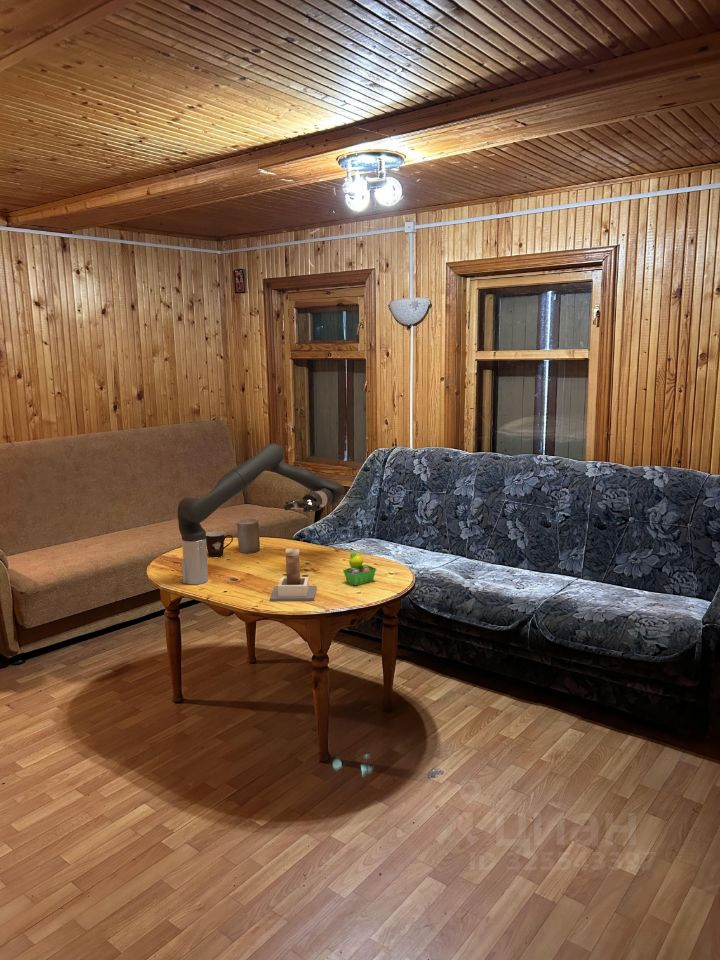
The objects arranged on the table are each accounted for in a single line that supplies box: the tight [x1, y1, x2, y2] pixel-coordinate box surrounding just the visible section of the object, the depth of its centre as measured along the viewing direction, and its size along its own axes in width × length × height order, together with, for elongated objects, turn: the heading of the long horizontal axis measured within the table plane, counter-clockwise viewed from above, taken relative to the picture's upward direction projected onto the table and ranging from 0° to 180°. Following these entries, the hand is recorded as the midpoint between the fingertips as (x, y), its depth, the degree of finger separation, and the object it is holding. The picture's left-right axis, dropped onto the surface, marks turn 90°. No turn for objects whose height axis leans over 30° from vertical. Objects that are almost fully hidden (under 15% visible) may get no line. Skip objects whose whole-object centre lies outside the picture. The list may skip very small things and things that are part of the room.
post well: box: [269, 576, 318, 602], centre depth 270 cm, size 16×14×5 cm
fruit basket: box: [342, 551, 377, 586], centre depth 284 cm, size 11×9×11 cm
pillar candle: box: [236, 518, 261, 554], centre depth 329 cm, size 10×10×15 cm
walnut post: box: [285, 547, 301, 585], centre depth 269 cm, size 5×5×16 cm
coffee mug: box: [206, 531, 234, 558], centre depth 322 cm, size 12×9×10 cm
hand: (294, 508), depth 285 cm, fingers open, 8 cm apart
